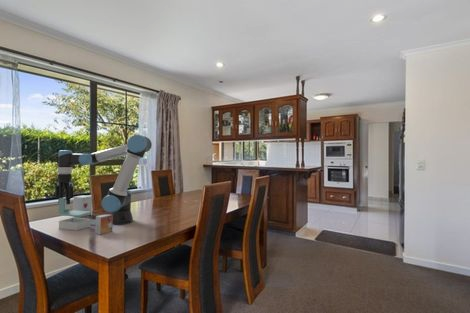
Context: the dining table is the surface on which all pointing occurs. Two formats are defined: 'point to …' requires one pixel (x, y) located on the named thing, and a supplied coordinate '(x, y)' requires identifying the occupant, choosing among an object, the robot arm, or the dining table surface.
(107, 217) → the small box
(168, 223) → the dining table surface
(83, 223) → the tub
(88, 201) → the supplement box
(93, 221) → the mat
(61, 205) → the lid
